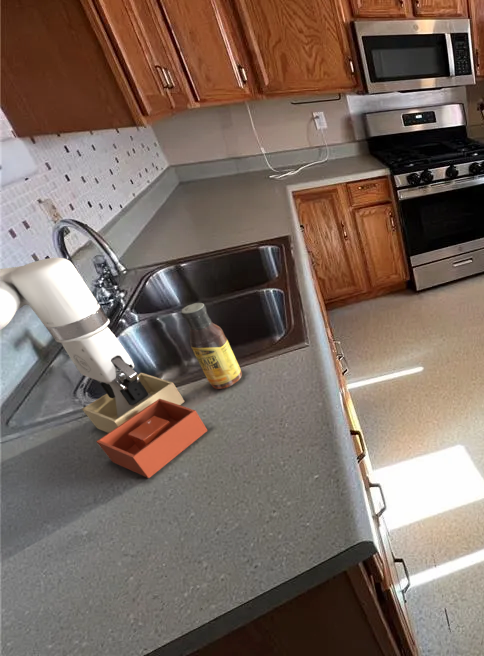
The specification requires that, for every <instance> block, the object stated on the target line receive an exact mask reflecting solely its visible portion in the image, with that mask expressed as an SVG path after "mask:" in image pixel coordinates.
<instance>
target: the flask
mask: <svg viewBox="0 0 484 656" xmlns="http://www.w3.org/2000/svg"><path fill="white" fill-rule="evenodd" d="M119 373H121V372H120V371H117V372H116V375H118V374H119ZM119 379H120V380H121V381H122V382H123V380H124V379H126V378H125V376H122V377H120V378H119ZM106 384H109V385H110V386H111V387H112V389H113V392H114V395H115V399H116V407H117V418H119V417H120V416H122V415H123V414H125V413H126V412H128V411H129V410H131V409H132V408H134V407H135V406H137V405H138V404H140V403H141V402H143V401H144V400H146V399H147V398H149V397H150V396H152V394H150V393H148V396H147V397H145V398H143V399H142V400H140V401H139V402H137V403H136V404H134V405H129V403H128V402H127V401H126V399H125V398H124V396H123V395H122V393H121V392H120V390H121V388H120V387H119V386H118V385H117V384H116V383H115V381H114V380H112V382H110V383H106Z"/></svg>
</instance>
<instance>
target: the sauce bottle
mask: <svg viewBox="0 0 484 656" xmlns="http://www.w3.org/2000/svg"><path fill="white" fill-rule="evenodd" d="M180 313H181V316H182V318H183V319H185V322H186V323H187V325H188V328H189V342H190V343H189V344H190V348H191V350H192V352H193V354H194V356H195V358H196V360H197V362H198V364H199V366H200V368H201V370H202V371H203V374H204V375H205V377H206V379H207V382H208V383H209V384H210V386H211V387H212V388H214V389H215V390H221V389H227V388H230V387H231V386H233V385H235V384H237V382H239V381H240V380H241V378H242V375H243V372H242V370H241V367H240V365H239V362H238V360H237V358H236V356H235V353H234V351H233V350H232V346H231V345H230V342H229V340H228V338H227V337H226V335H225V333H224V330H223V329H222V328H221V326H219V325H217V324H215V323H213V321H212V319H211V318H210V315H209V314H208V312H207V306H206V305H205V304H204V303H202V302H195V303H192V304H189V305H186V306H184V307H183V308H182V309H181V310H180Z"/></svg>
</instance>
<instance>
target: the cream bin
mask: <svg viewBox="0 0 484 656" xmlns="http://www.w3.org/2000/svg"><path fill="white" fill-rule="evenodd" d="M137 374H138V378H139V380H140V382H141V383H142V385H143V386H144V388H145V389H146V391H147V392H148V393H150V394H152V396H150V397H149V398H147V399H146V400H144V401H143V402H141V403H140V404H138V405H137V406H135V407H134V408H132V409H131V410H129V411H128V412H126V413H125V414H123V415H122V416H120V417H119V418H117V407H116V399H115V398H110V397H109V396H108V394H107V393H106V394H104V395H102V396H101V397H99V398H97V399H96V400H94V401H92V402H91V403H89V404H88V405H86V406H84V407H82V408H81V410H82V411H83V413H84V414H85V415H86V416H87V418H88V419H89V420H90V421H91V422H92V424H93V425H94V427H95V428H96V429H98V430H99V431H102V432H105V433H107V434H108V433H109V432H111V431H112V430H114V429H115V428H117V427H118V426H120V425H121V424H123V423H124V422H126V421H127V420H129V419H130V418H132V417H133V416H135V415H136V414H137V413H139V412H140V411H142V410H143V409H145V408H146V407H148V406H149V405H151V404H152V403H154V402H155V401H157V400H158V399H163V400H166V401H169V402H172V403H175V404H178V405H181V406H182V404H184V403H185V399H184V397H183V396H182V395H181V393H180V392H179V389H178V388H177V387H176V385H175V384H174V382H173V381H170V380H167V379H163V378H161V377H157V376H153V375H150V374H147V373H145V372H140V373H137Z"/></svg>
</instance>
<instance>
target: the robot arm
mask: <svg viewBox="0 0 484 656" xmlns="http://www.w3.org/2000/svg"><path fill="white" fill-rule="evenodd" d="M24 306H29V307H30V308H31V310H32V311H33V312H34V314H35V315H36V317H37V318H38V319H39V320H40V322H41V323H42V324H43V326H44V328H46V330H47V331H48V332H49V334H50V335H51V337H52V338H53V339H54V340H55V342H56V343H58V344H59V343H60V344H61V345H62V348H63V349H64V351H65V352H66V354H67V355H68V357H69V358H70V360H71V362H72V363H73V365H74V366H75V367H76V369H77V370H78V372H79V373H80V374H81V376H84V377H87V378H88V379H92V380H94V381H97V382H98V383H99V385H100V386H101V388H102V389H103V391H104V392H105V393H106V394H108V396H109V397H110V398H115V395H114V392H113V389H112V387H111V386H110V385H109V384H106V383H110V382H112V380H114V381H115V383H116V384H117V385H118V386H119V387H120V388H121V390H120V392H121V393H122V395H123V396H124V398H125V399H126V401H127V402H128V403H129V405H134V404H136V403H137V402H139V401H140V400H142V399H143V398H145V397H147V396H148V392H147V391H146V389H145V388H144V386H143V385H142V383H141V382H140V380H139V378H138V374H139V373H138V372H136V371H135V370H134V369H135V363H134V361H133V359H132V357H131V356H130V354H129V352H127V350H126V348H125V347H124V346H123V344H122V343H121V342H120V340H119V339H118V338H117V337H116V336H115V334H114V333H113V332H112V331H111V329H110V328H109V327H108V325H109V324H110V322H111V321H110V318H109V317H108V316H107V314H106V312H105V311H104V310H103V308H102V307H101V305H100V304H99V302H98V300H97V299H96V297H95V296H94V294H93V293H92V291H91V290H90V288H89V286H88V285H87V284H86V282H85V281H84V279H83V277H82V276H81V274H80V273H79V271H78V270H77V268H76V266H75V265H74V264H73V262H71V261H70V260H69V259H68V258H64V257H49V258H44V259H40V260H35V261H33V262H29V263H27V264H24V265H20V266H19V265H18V266H12V267H4V268H0V330H2V329H4V328H5V327H6V326H8V324H9V323H10V322H11V321H12V320H13V318H14V316H15V315H16V314H17V311H19V310H20V309H21V308H23V307H24ZM117 372H121V373H119V374H118V375H116V373H117ZM122 376H125V378H126V379H124V380H123V382H122V381H121V380H120V379H119V378H120V377H122Z"/></svg>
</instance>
